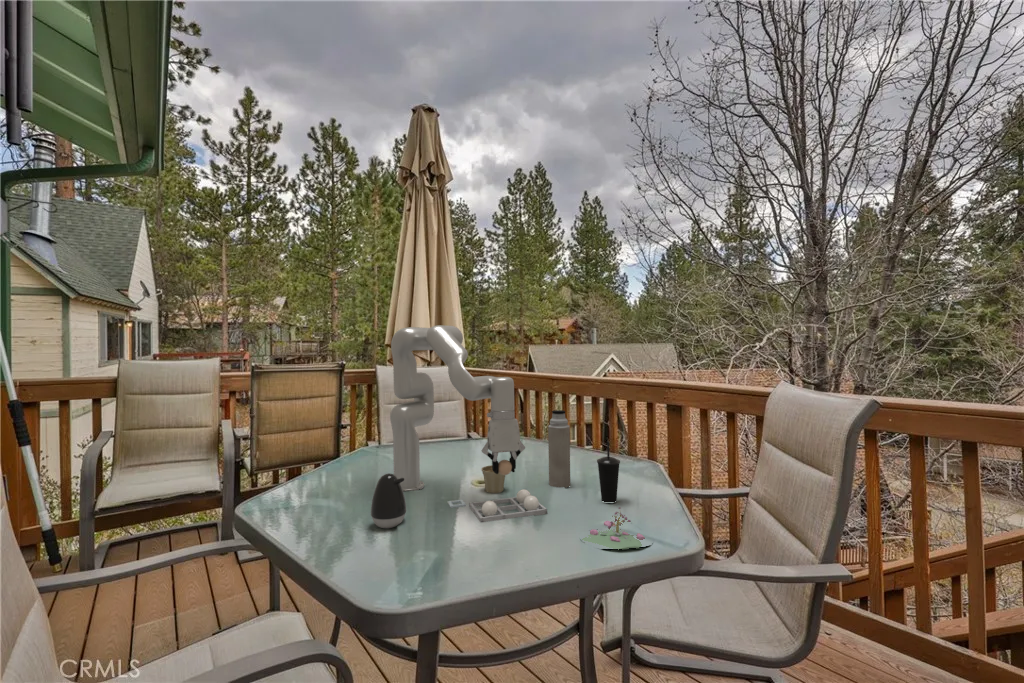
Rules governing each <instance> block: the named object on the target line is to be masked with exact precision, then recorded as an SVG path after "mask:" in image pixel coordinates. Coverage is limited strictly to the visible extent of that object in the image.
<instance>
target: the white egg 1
mask: <svg viewBox="0 0 1024 683" xmlns="http://www.w3.org/2000/svg"><path fill="white" fill-rule="evenodd" d="M485 501H486V502H485V503H484V504H483V505H482V506H481V509H482V513H483V514H482V515H483V517H487V516H494V515H497V514H498V513H497V506H498V504H495V503H494V502H493V501H488V500H485Z"/></svg>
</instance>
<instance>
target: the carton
mask: <svg viewBox="0 0 1024 683" xmlns="http://www.w3.org/2000/svg"><path fill="white" fill-rule="evenodd" d="M486 501H493V502H494V503H495V504H496V505H497V513H496V514H495V515H494V516H487V517H486V516H482V515H483V513H482V508H477V507H482V505H483V504H484V503H485V502H486ZM506 503H510V504H509V505H503V506H501V505H500V506H498V505H499V504H506ZM468 505H469V506H468V507H469V509H471V511H472V512H473V514H474V515H475V517H476V518H477V520H478V521H479V522H480V523H486V522H492V521H493V522H494V521H499V520H508V519H515V518H522V517H528V516H534V517H536V516H541V515H542V516H543V515H548V509H547V507H545V506H544V505H543V504H541V503H540V502H539V506H538V508H537V510H531V511H527V510H526V509H525V507H524V503H523V504H520V503H519V502H518V501H517V498H516V496H513V497H505V498H497V499H490V500H489V499H488V500H483V501H482V500H481V501H474V502H469V503H468ZM510 510H516V512H510V513H504V511H510ZM517 511H518V512H517Z"/></svg>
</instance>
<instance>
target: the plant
mask: <svg viewBox="0 0 1024 683" xmlns="http://www.w3.org/2000/svg"><path fill="white" fill-rule="evenodd" d="M621 509H622V507H618V510H621ZM611 516H612V517H613V516H614V517H615V521H614V520H612V521H610V520H606V521H603V525H604V526H606V527H607V528H608V529H609V530H610V528H611V527H616V531H615V529H613V530H612V529H611V530H610V531H609V530H608V531H607V530H606V531H603V532H602V531H601V532H600V531H599V532H598V531H597V530H598V529H591V530H589V531H590V535H588V536H589V537H588V538H587V537H585V538H583V539H582V540H584V541H588V542H592V543H595V544H596V543H597V544H599V545H603V546H606V547H609V548H613V549H618V550H617V551H619V549H622V550H630V549H629V548H636V549H640V548H639V547H641V546H642V544H641V542H640V541H639V540H643V539H645V537H644V536H643V535H642V534H640V533H637V535H636V536H637V537H636V538H637V539H639V540H637V539H635V538H634V537H633V536H634V535H630V534H628V532H625V530H621V529H620V530H621V531H620V530H619V526H621V524H622V523H621V522H623V523H624V522H625V520H628V521H627V522H631V523H632V521H631V519H628V517H627V516H626V514H622V513H621V511H619V512H618V511H615V512H614V515H611ZM617 516H620V517H622V518H624V520H622V521H621V522H619V521H620V520H619V519H620V517H619V518H618V520H617V519H616V518H617ZM616 521H617V522H616ZM622 525H623V524H622ZM600 533H601V534H600ZM590 537H591V538H590Z"/></svg>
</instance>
